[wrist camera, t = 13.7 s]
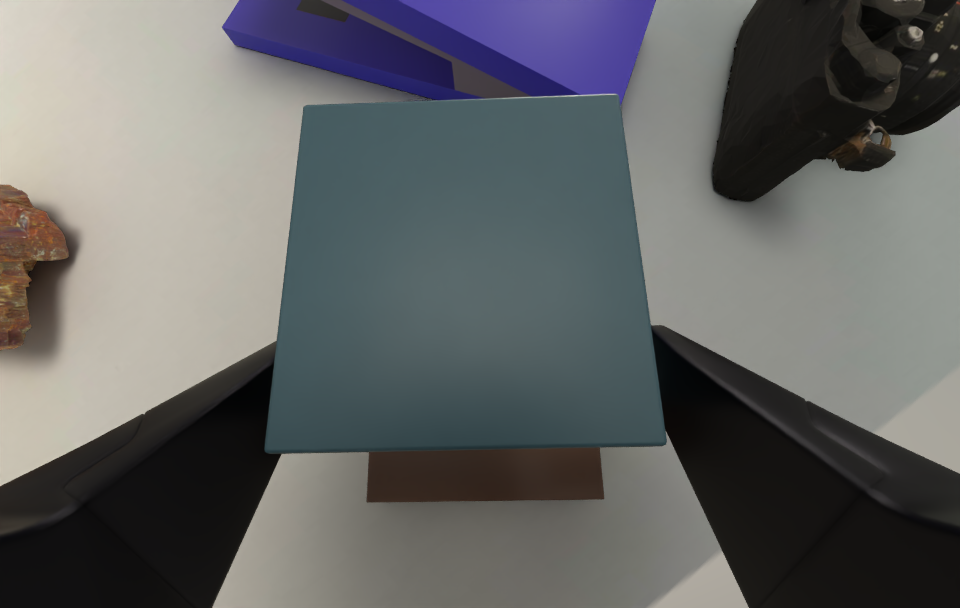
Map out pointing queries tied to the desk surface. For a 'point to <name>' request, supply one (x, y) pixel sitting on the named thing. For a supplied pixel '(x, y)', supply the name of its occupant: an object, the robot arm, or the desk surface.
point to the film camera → (832, 86)
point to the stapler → (455, 43)
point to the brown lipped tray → (485, 475)
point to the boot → (464, 281)
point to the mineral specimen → (22, 259)
